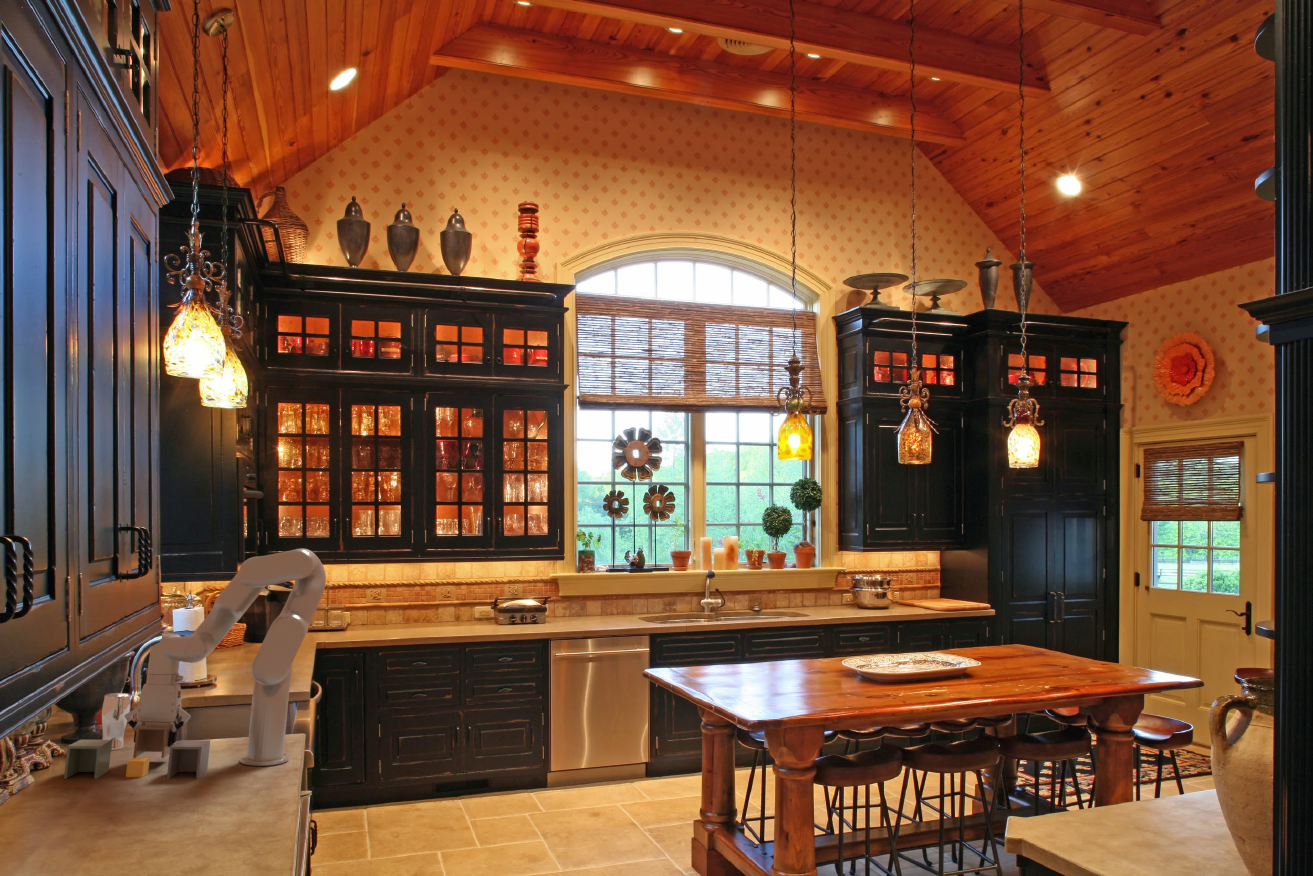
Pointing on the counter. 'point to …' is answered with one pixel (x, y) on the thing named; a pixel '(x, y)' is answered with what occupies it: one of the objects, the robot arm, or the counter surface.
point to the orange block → (137, 767)
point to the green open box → (88, 757)
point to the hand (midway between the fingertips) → (154, 745)
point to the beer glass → (115, 718)
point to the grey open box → (189, 757)
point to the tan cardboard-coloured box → (152, 739)
